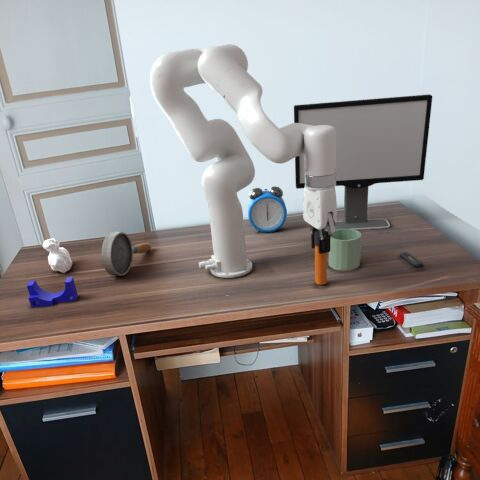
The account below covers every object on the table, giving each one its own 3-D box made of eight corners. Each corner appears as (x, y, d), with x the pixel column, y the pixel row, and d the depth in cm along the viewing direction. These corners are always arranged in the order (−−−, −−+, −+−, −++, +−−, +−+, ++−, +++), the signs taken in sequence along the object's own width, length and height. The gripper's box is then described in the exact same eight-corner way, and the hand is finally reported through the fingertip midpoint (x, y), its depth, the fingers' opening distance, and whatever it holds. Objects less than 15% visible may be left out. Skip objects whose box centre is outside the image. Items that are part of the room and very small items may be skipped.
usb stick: (398, 257, 149) (398, 252, 148) (406, 255, 149) (407, 251, 148) (415, 270, 141) (415, 265, 140) (423, 268, 141) (424, 263, 140)
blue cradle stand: (31, 307, 140) (24, 288, 137) (36, 299, 144) (30, 280, 141) (74, 303, 140) (68, 284, 137) (78, 296, 144) (72, 277, 141)
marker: (318, 285, 135) (318, 234, 128) (312, 281, 138) (312, 231, 130) (329, 283, 136) (329, 232, 128) (323, 278, 138) (323, 228, 131)
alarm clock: (249, 234, 174) (246, 191, 166) (249, 228, 179) (246, 186, 171) (287, 231, 173) (286, 188, 166) (286, 225, 179) (284, 183, 171)
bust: (66, 267, 168) (38, 244, 163) (81, 252, 166) (53, 228, 161) (59, 283, 157) (28, 259, 153) (75, 267, 155) (44, 242, 150)
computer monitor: (297, 233, 171) (294, 107, 150) (295, 224, 178) (292, 103, 158) (420, 226, 168) (434, 96, 148) (414, 217, 175) (426, 92, 155)
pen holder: (338, 274, 142) (338, 243, 137) (322, 262, 150) (322, 232, 145) (366, 267, 144) (367, 236, 140) (349, 256, 152) (350, 226, 147)
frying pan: (142, 226, 167) (99, 233, 144) (151, 227, 166) (109, 234, 143) (144, 265, 171) (102, 278, 148) (152, 266, 170) (111, 279, 147)
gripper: (291, 175, 128) (294, 242, 138) (322, 190, 115) (322, 264, 124) (318, 170, 130) (318, 237, 140) (351, 185, 117) (349, 258, 126)
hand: (320, 249), depth 132 cm, fingers closed on marker, 3 cm apart
